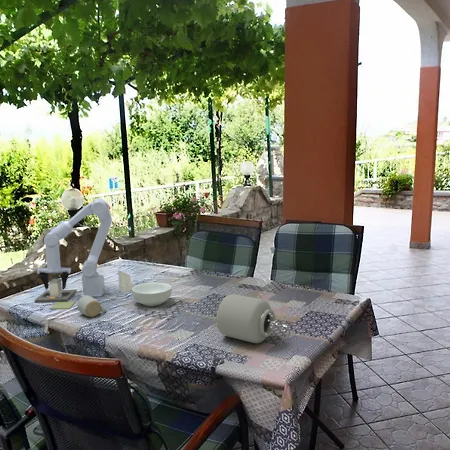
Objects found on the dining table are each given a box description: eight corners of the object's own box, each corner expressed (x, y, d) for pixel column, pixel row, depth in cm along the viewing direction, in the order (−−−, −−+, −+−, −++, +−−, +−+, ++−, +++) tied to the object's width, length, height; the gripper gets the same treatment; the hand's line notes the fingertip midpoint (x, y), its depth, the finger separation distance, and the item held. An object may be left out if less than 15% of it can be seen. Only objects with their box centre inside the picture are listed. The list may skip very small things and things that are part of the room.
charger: (62, 295, 211) (60, 278, 210) (58, 299, 206) (57, 281, 205) (54, 295, 211) (53, 278, 210) (50, 299, 206) (49, 281, 205)
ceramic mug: (86, 319, 180) (85, 301, 179) (77, 314, 186) (76, 297, 185) (109, 313, 187) (109, 296, 186) (100, 308, 193) (99, 291, 192)
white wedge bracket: (111, 288, 211) (118, 270, 214) (126, 294, 219) (132, 276, 222) (117, 290, 209) (123, 271, 212) (131, 295, 217) (137, 277, 220)
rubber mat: (75, 302, 201) (75, 301, 201) (69, 308, 193) (69, 308, 193) (56, 302, 201) (56, 302, 201) (50, 309, 193) (50, 308, 193)
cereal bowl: (180, 302, 198) (179, 286, 197) (149, 312, 186) (148, 296, 185) (155, 294, 210) (154, 279, 209) (124, 304, 198) (123, 288, 197)
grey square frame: (76, 292, 216) (76, 288, 215) (66, 302, 202) (66, 298, 201) (46, 292, 215) (46, 289, 215) (34, 302, 202) (34, 299, 201)
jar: (249, 309, 174) (305, 316, 157) (236, 346, 168) (292, 357, 151) (219, 286, 163) (275, 290, 146) (203, 324, 157) (260, 333, 139)
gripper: (33, 261, 202) (35, 291, 204) (66, 261, 202) (68, 290, 204) (39, 257, 209) (41, 286, 211) (71, 257, 209) (73, 286, 211)
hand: (55, 288), depth 208 cm, fingers open, 7 cm apart
